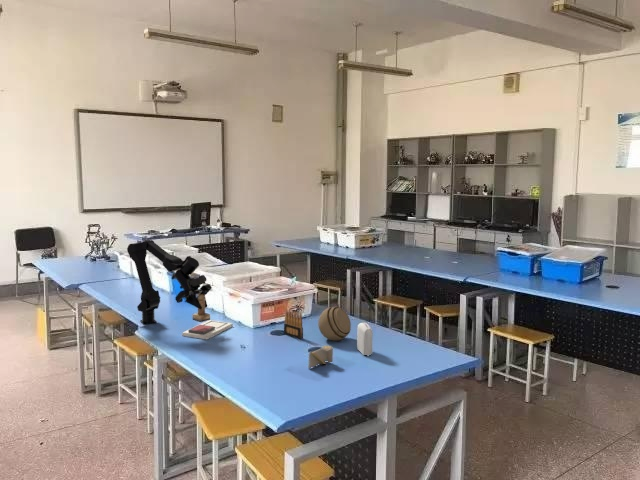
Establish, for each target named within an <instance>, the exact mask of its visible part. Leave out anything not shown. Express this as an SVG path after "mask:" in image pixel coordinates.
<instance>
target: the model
mask: <svg viewBox="0 0 640 480" xmlns="http://www.w3.org/2000/svg"><path fill="white" fill-rule="evenodd" d="M333 355H334V348H333V346H329V345H325V346H322V347H321V348H319V349H316V350H314V351H311V350H310V351H309V352H308V369H309V368H311V367H314V366H316V365H318V364H321V363H322V364H321V365H323V364H327V362H326V363H325V361H328V362H333V359H334V357H333ZM316 367H317V366H316ZM314 368H315V367H314Z"/></svg>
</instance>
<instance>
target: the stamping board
mask: <svg viewBox="0 0 640 480" xmlns="http://www.w3.org/2000/svg"><path fill="white" fill-rule="evenodd" d="M233 324H234V323H233V322H225V321H219V320H211V319H210V320H208V321H204V322H201V323H200V324H198V325H206V326H213V327H215V329H214V330H212V331H210V332H208V333H206V334H204V335H202V334H195V333H189V329H187V330H185V331H183V332H181V333H182V334H181V335H182V337H189V338H195V339H202V340H209V339H211V338H213V337H215V336H217V335H218V334H221V333H222V332H224V331H227V330H228V329H230V328H232V327H233V326H234V325H233ZM198 325H195V326H194V327H196V326H198ZM194 327H191V328H190V329H192V328H194Z"/></svg>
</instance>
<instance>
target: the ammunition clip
mask: <svg viewBox="0 0 640 480" xmlns="http://www.w3.org/2000/svg"><path fill="white" fill-rule="evenodd" d="M284 315H285V316H284V323H283V335H285V336H288V337H291V338H295V339H298V340H303V339H304V327H303V315H302V312H299V311H297V312H296V310H291V309H290V308H289V309H288V308H286V309H285V313H284Z"/></svg>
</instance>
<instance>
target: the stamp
mask: <svg viewBox="0 0 640 480" xmlns="http://www.w3.org/2000/svg"><path fill="white" fill-rule="evenodd" d="M196 298H197V297H196ZM197 299H198V302H199V303H200V305H201V307H202V309H199V308H197V312H195V313H193V314H192V321H196V322H199V323H204V322H206V321H208V320H211V314H210V313H206V308H205V299H206V295H205V296H204V295H203V294H200V295H199V296H198V298H197ZM206 300H207V299H206Z"/></svg>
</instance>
